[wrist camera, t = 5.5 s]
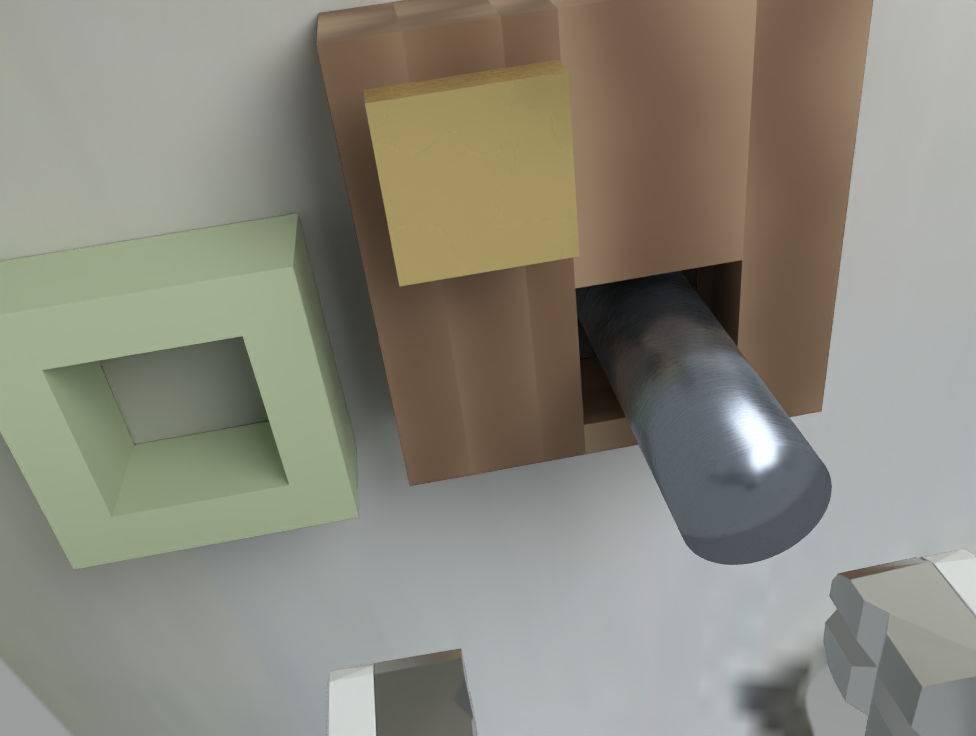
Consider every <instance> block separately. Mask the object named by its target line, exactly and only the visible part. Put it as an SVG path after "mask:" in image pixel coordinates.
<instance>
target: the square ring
mask: <svg viewBox="0 0 976 736" xmlns="http://www.w3.org/2000/svg"><path fill="white" fill-rule="evenodd" d="M241 336H243V339H244V342H245V346H246V349H247V352H248V355H249V358H250V362H251V365H252V368H253V371H254V374H255V377H256V381H257V384H258V387H259V390H260V393H261V397H262V400H263V403H264V406H265V409H266V413H267V416H268V419H269V421H267V422H261V423H256V424H250V425H244V426H239V427H233V428H227V429H222V430H216V431H210V432H204V433H199V434H193V435H187V436H182V437H176V438H170V439H165V440H159V441H153V442H147V443H142V444H136V445H134V442H133V440H132V438H131V435H130V433H129V431H128V428H127V426H126V424H125V421H124V419H123V417H122V414H121V412H120V410H119V407H118V405H117V403H116V400H115V398H114V396H113V394H112V391H111V389H110V387H109V384H108V382H107V380H106V377H105V375H104V373H103V370H102V368H101V366H100V363H99V360H105V359H111V358H117V357H123V356H129V355H134V354H140V353H146V352H152V351H158V350H164V349H170V348H176V347H182V346H188V345H193V344H199V343H205V342H211V341H217V340H223V339H229V338H235V337H241ZM0 432H1V434H2V436H3V438H4V440H5V442H6V443H7V445H8V447H9V449H10V451H11V453H12V455H13V457H14V458H15V460H16V462H17V464H18V466H19V468H20V470H21V472H22V474H23V475H24V477H25V479H26V481H27V483H28V485H29V487H30V489H31V490H32V492H33V494H34V496H35V498H36V500H37V502H38V504H39V505H40V507H41V509H42V511H43V513H44V515H45V517H46V519H47V520H48V522H49V524H50V526H51V528H52V530H53V532H54V534H55V535H56V537H57V539H58V541H59V543H60V545H61V547H62V549H63V550H64V552H65V554H66V556H67V558H68V560H69V562H70V564H71V565H72V567H73V569H74V570H75V569H80V568H85V567H91V566H96V565H102V564H107V563H113V562H118V561H124V560H129V559H135V558H140V557H145V556H151V555H156V554H162V553H167V552H173V551H178V550H184V549H189V548H195V547H200V546H205V545H211V544H216V543H222V542H227V541H233V540H238V539H244V538H249V537H255V536H260V535H266V534H271V533H276V532H282V531H287V530H293V529H298V528H304V527H309V526H315V525H320V524H326V523H331V522H336V521H342V520H347V519H353V518H358V517H359V509H358V477H357V448H356V444H355V440H354V436H353V432H352V428H351V424H350V420H349V416H348V412H347V408H346V404H345V400H344V396H343V392H342V388H341V384H340V380H339V376H338V372H337V368H336V364H335V360H334V356H333V352H332V348H331V344H330V340H329V336H328V332H327V328H326V324H325V320H324V316H323V312H322V308H321V304H320V300H319V296H318V292H317V288H316V284H315V280H314V276H313V272H312V268H311V264H310V260H309V256H308V252H307V248H306V244H305V240H304V236H303V232H302V228H301V224H300V220H299V216H298V213H296V214H290V215H284V216H278V217H271V218H265V219H259V220H253V221H247V222H240V223H234V224H228V225H222V226H216V227H210V228H203V229H197V230H191V231H185V232H179V233H172V234H166V235H160V236H154V237H148V238H141V239H135V240H129V241H123V242H117V243H110V244H104V245H98V246H92V247H86V248H79V249H73V250H67V251H61V252H55V253H49V254H42V255H36V256H30V257H24V258H18V259H11V260H5V261H0Z"/></svg>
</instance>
